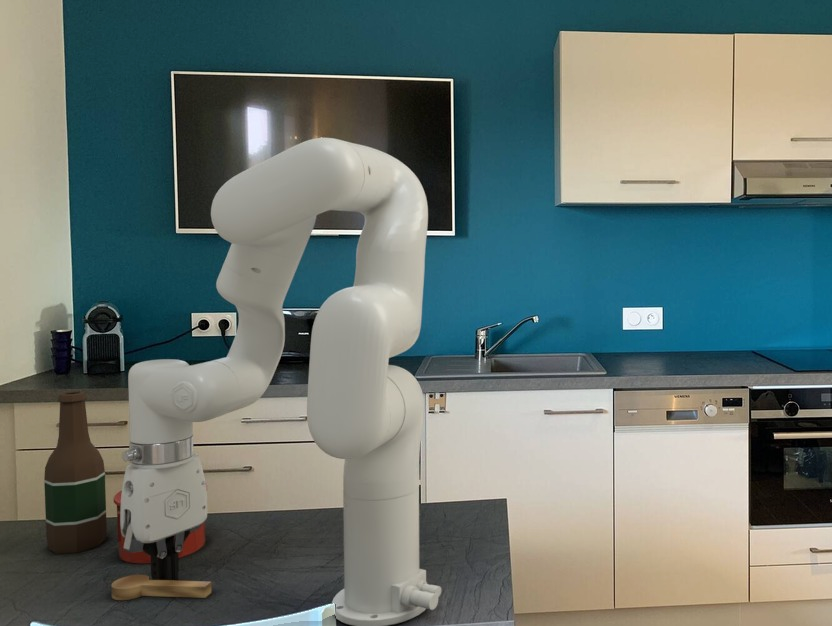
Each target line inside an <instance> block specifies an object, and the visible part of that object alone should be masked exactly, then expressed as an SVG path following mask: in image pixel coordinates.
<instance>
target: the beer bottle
mask: <svg viewBox="0 0 832 626" xmlns="http://www.w3.org/2000/svg"><path fill="white" fill-rule="evenodd" d="M87 399H88V396H87V393H86V392H84V391H80V390H73V391H65V392H63V393H60V394H58V397H57V400H56V401H57V402H58V403H59V419H58V420H59V421H58V438H57V444H56V447H55V448H54V450H53V451H52V453H51V454H50V455H49V457H48V459H47V461H46V464H45V467H44V478H43V482H44V483H43V484H44V509H45V513H44V514H45V534H46V537H45V538H46V546H47V549H48V550H49V551H50V552H53V553H55V554H56V555H62V554H64V555H65V554H77V553H82V552H85V551H89V550H91V549H95V548H98V547H99V546H100V545H101V544H103V542H105V541H106V539H107V527H108V526H107V523H108V522H107V495H106V492H107V491H106V470H105V461H104V459H103V456H102V455H101V452H100V450H99V449H98V448H97V447H96V446H95V445H94V444H93V443H92V441H91V438H90V434H89V426H88V417H87V416H88V415H87V408H86V407H87V406H86V400H87Z"/></svg>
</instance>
